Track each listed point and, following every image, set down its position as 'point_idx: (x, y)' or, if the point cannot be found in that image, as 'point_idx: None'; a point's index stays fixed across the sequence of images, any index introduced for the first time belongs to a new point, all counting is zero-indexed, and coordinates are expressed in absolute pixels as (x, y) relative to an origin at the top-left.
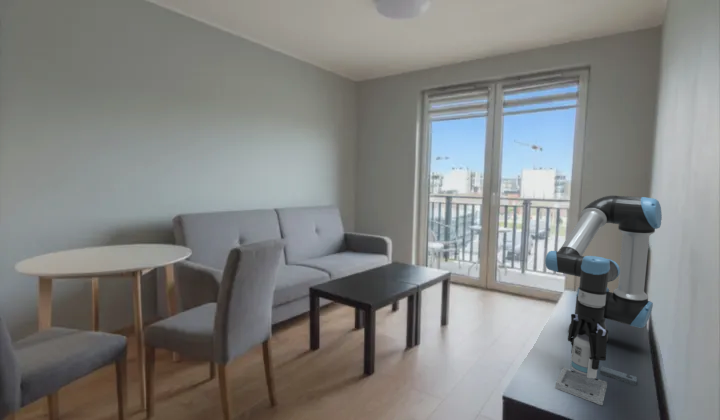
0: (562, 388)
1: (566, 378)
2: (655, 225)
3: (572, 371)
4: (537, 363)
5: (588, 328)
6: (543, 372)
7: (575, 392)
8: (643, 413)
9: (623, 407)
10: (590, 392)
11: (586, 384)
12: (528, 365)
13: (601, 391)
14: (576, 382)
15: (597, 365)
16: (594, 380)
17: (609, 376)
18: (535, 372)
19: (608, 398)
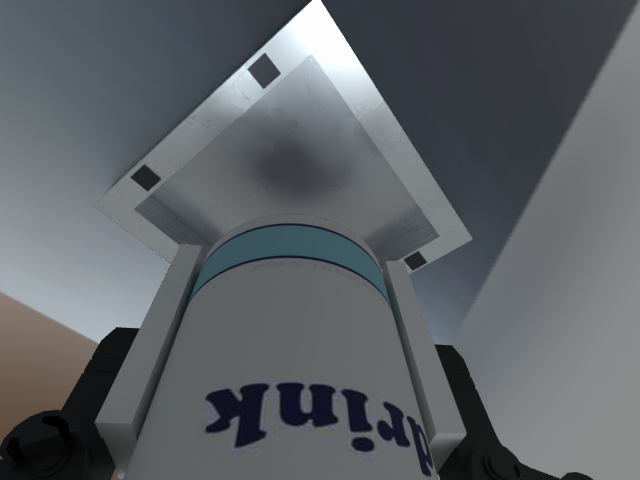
0: None
1: (196, 222)
2: None
3: (149, 183)
4: (14, 262)
5: None
6: (131, 289)
7: None
8: (633, 11)
9: (524, 103)
10: (352, 193)
11: (267, 145)
12: (62, 317)
13: (410, 179)
14: (241, 195)
15: (469, 397)
16: (266, 90)
17: None
18: (139, 323)
19: (423, 118)
